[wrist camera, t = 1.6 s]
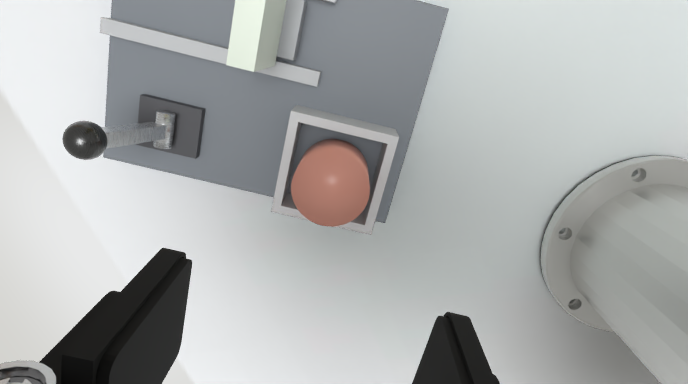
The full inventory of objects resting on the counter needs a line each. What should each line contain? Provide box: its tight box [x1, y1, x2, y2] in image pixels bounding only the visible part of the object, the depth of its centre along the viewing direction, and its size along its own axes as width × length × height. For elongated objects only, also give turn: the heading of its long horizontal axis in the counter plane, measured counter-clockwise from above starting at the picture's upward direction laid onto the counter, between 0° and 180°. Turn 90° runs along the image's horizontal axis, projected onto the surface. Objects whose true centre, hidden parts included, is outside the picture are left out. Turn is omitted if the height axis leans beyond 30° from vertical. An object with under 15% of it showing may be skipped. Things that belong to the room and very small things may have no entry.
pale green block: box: [226, 0, 307, 72], centre depth 21 cm, size 3×4×6 cm
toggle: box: [63, 110, 175, 160], centre depth 22 cm, size 2×2×6 cm
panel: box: [100, 0, 449, 235], centre depth 25 cm, size 18×13×4 cm
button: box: [291, 139, 370, 226], centre depth 23 cm, size 4×4×3 cm
